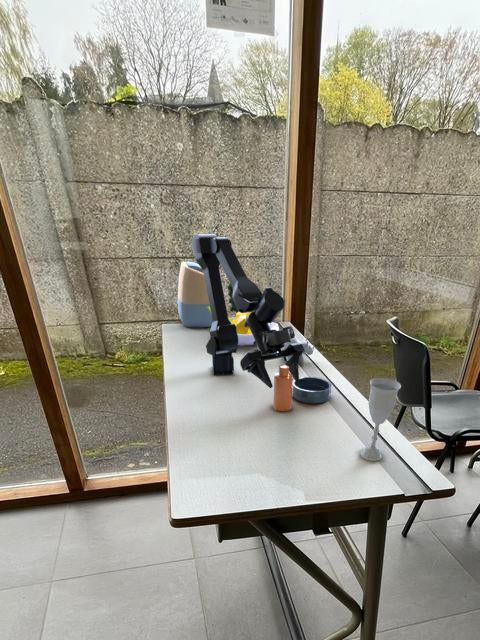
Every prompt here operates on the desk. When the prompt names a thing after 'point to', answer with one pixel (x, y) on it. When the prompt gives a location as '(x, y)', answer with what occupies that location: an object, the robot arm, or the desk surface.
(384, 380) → the chalice
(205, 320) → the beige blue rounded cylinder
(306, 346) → the round bodied animal figurine
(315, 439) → the desk surface
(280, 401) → the orange bottle
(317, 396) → the bowl
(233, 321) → the fruit bowl
